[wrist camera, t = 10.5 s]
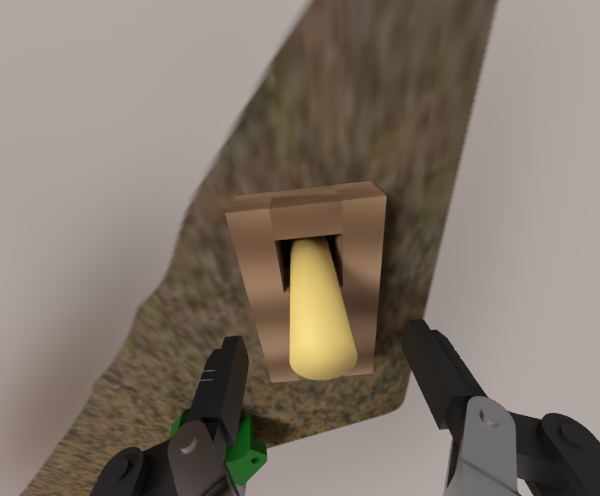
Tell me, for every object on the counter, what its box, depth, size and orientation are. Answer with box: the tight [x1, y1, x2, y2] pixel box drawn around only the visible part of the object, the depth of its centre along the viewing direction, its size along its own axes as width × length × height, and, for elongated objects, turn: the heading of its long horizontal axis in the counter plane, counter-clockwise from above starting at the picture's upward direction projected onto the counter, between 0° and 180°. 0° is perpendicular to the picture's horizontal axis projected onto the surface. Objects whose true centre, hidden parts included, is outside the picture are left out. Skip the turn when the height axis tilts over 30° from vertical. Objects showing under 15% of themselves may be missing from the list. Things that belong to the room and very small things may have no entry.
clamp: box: [168, 409, 267, 486], centre depth 31 cm, size 12×6×9 cm, turn 41°
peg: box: [290, 235, 357, 380], centre depth 16 cm, size 3×3×11 cm
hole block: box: [225, 181, 387, 382], centre depth 21 cm, size 18×10×4 cm, turn 6°
